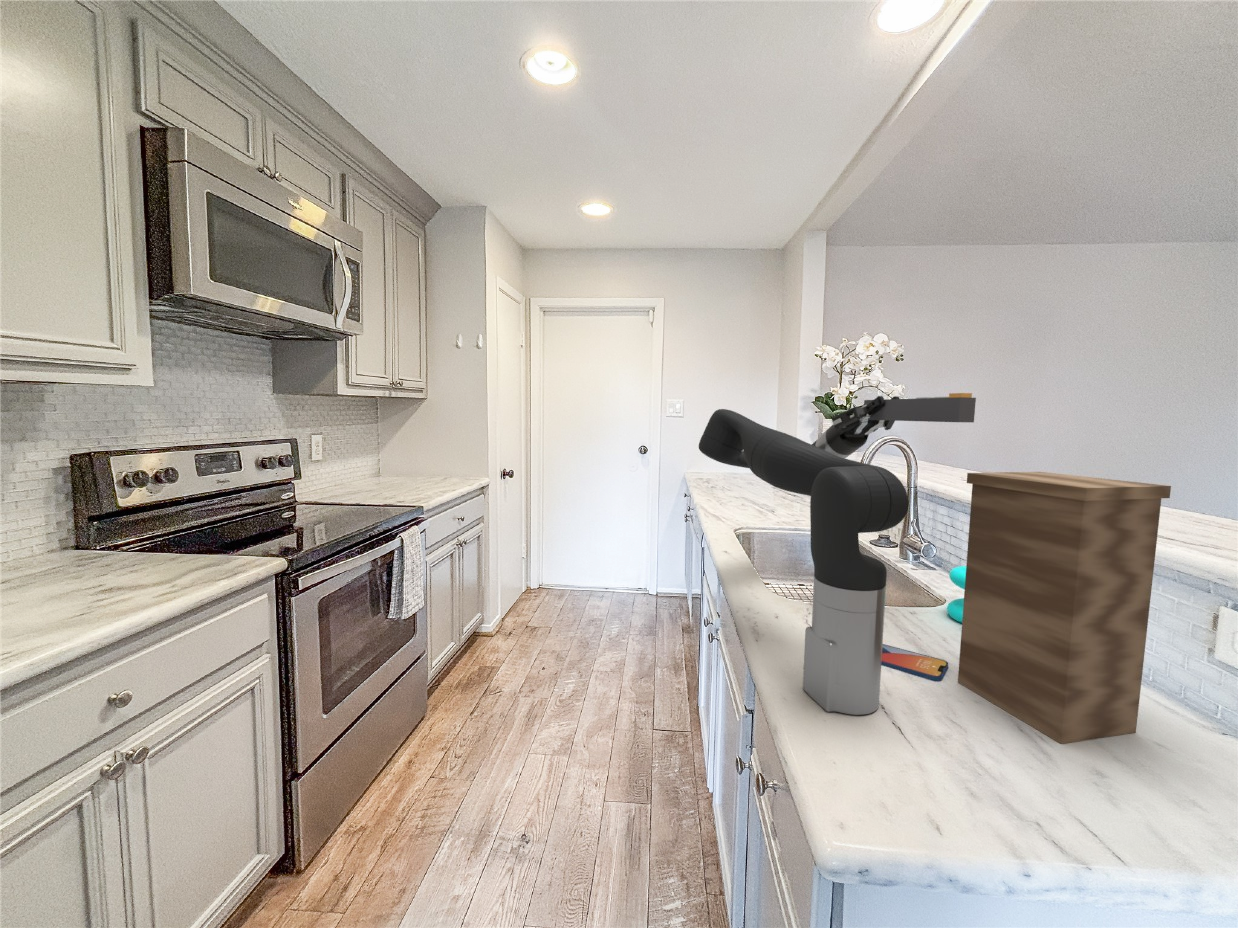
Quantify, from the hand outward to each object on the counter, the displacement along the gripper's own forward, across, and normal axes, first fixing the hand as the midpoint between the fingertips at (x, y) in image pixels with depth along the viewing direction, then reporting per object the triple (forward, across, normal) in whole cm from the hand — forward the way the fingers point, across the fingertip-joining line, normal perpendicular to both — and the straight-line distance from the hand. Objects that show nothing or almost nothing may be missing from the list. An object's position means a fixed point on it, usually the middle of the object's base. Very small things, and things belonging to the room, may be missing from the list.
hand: (890, 400), depth 99 cm
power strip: (+3, 0, +6) cm, 7 cm away
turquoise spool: (-17, +18, +40) cm, 47 cm away
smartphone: (-8, -10, +46) cm, 48 cm away
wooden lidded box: (+7, 0, +54) cm, 54 cm away
